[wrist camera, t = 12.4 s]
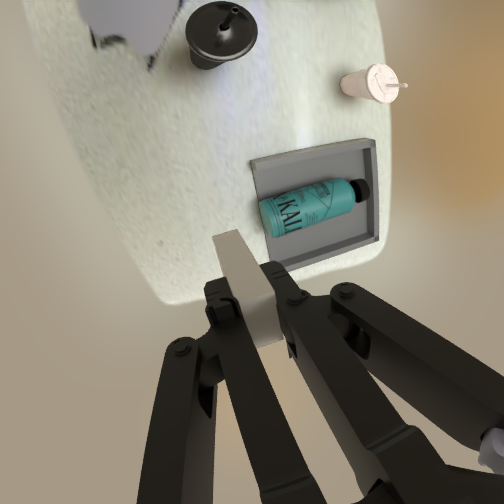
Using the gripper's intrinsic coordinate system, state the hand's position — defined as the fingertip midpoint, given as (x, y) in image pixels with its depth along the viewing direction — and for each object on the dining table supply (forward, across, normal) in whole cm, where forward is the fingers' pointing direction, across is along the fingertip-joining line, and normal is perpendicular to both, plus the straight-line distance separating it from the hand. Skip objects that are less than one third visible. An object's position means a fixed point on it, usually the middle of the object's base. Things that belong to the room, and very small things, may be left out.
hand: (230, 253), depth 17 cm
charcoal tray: (+29, +20, -11) cm, 37 cm away
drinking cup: (+30, +6, +17) cm, 35 cm away
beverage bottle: (+26, +7, -10) cm, 28 cm away
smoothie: (+30, +29, +9) cm, 42 cm away
